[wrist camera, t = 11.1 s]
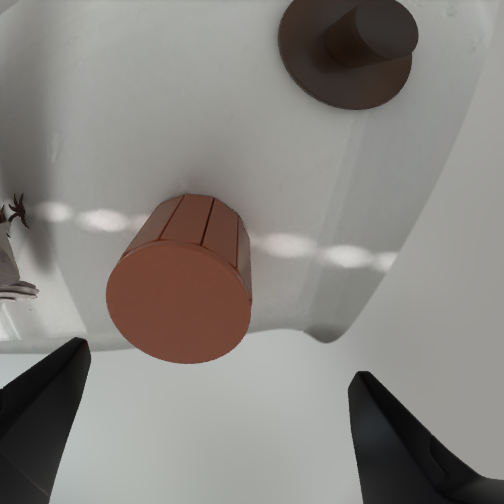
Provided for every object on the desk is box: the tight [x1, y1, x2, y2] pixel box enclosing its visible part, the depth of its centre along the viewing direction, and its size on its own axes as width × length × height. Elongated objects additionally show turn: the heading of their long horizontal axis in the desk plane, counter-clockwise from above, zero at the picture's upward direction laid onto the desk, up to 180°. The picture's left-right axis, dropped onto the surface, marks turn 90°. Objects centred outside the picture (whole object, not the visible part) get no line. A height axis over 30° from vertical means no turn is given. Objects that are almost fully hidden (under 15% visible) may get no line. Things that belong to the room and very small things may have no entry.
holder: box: [278, 0, 418, 110], centre depth 12 cm, size 8×8×6 cm
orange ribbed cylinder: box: [106, 194, 252, 364], centre depth 17 cm, size 7×7×7 cm
